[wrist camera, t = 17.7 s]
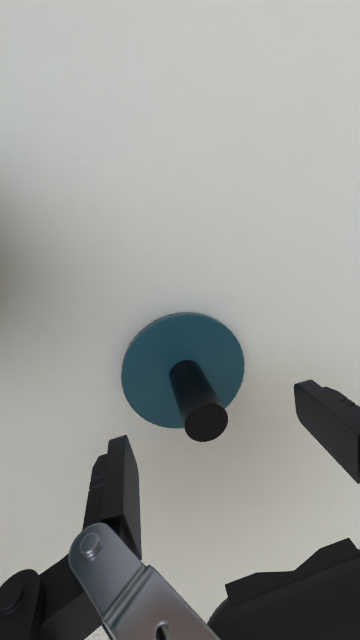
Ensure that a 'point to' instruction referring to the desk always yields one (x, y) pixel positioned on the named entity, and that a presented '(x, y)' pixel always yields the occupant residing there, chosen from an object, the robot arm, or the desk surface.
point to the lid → (184, 374)
